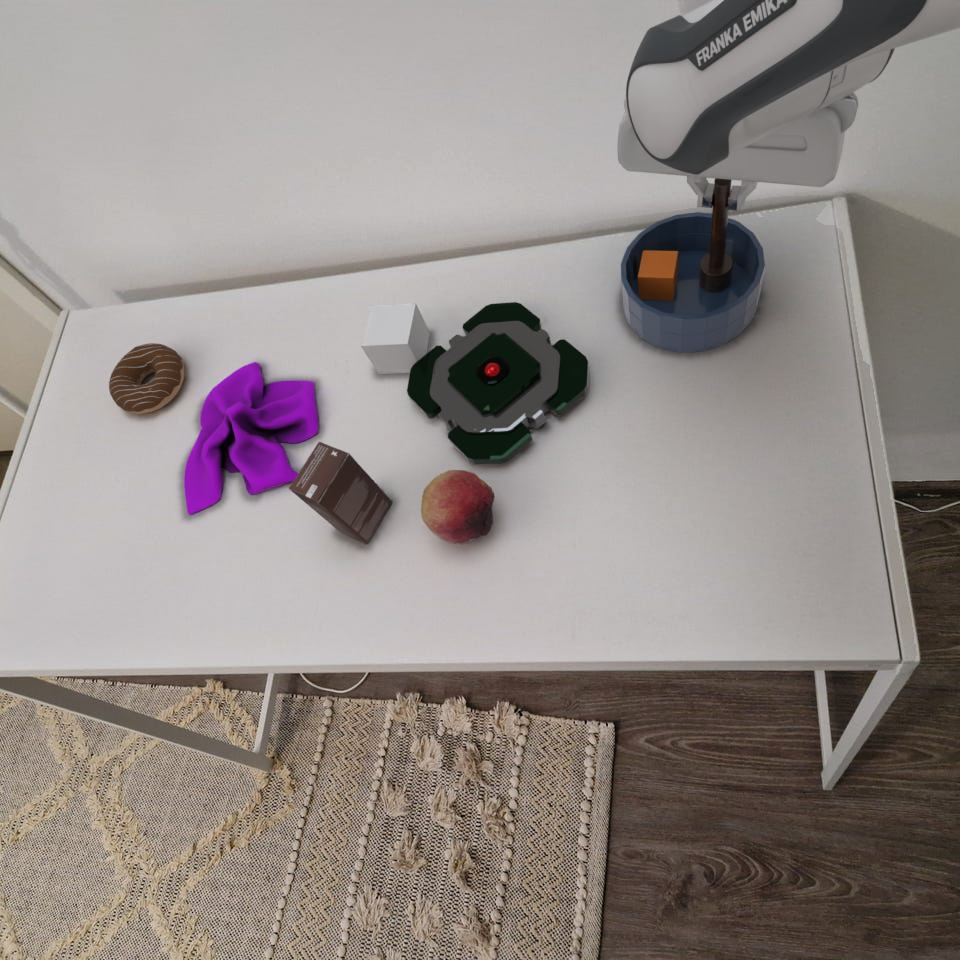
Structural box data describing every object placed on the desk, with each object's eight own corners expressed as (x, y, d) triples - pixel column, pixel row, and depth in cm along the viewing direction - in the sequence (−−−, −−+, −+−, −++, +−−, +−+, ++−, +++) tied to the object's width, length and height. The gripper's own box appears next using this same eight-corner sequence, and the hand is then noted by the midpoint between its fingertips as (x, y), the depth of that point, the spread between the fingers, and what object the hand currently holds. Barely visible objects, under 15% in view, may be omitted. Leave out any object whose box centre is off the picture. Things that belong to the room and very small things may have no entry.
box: (363, 488, 82) (318, 438, 72) (394, 502, 81) (352, 453, 70) (335, 532, 81) (285, 488, 70) (366, 547, 79) (320, 504, 68)
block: (677, 274, 84) (678, 250, 81) (673, 301, 83) (673, 278, 79) (643, 273, 86) (642, 250, 82) (638, 299, 84) (637, 276, 81)
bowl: (771, 258, 83) (778, 220, 78) (740, 363, 78) (745, 330, 73) (644, 242, 88) (643, 206, 83) (607, 339, 83) (603, 307, 78)
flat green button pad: (489, 484, 79) (479, 466, 75) (399, 392, 87) (386, 371, 83) (607, 384, 81) (604, 360, 77) (508, 303, 89) (500, 279, 85)
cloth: (227, 359, 97) (202, 332, 91) (344, 377, 90) (324, 349, 85) (152, 505, 89) (118, 484, 83) (274, 535, 82) (246, 515, 77)
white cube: (423, 372, 88) (407, 344, 82) (378, 374, 89) (360, 346, 84) (430, 333, 90) (415, 302, 85) (386, 335, 92) (369, 305, 87)
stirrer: (734, 269, 83) (745, 167, 70) (727, 294, 81) (738, 194, 68) (702, 266, 84) (708, 165, 71) (696, 291, 83) (700, 192, 70)
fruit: (457, 479, 80) (437, 446, 73) (515, 505, 77) (500, 472, 70) (422, 537, 78) (397, 508, 71) (480, 566, 75) (461, 539, 68)
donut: (150, 347, 101) (132, 330, 98) (204, 363, 97) (187, 346, 94) (107, 408, 98) (87, 392, 94) (161, 427, 94) (142, 412, 90)
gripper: (870, 58, 58) (836, 191, 70) (627, 53, 65) (634, 174, 77) (856, 111, 56) (823, 239, 68) (606, 99, 63) (616, 216, 75)
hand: (721, 204), depth 72 cm, fingers closed on stirrer, 2 cm apart
